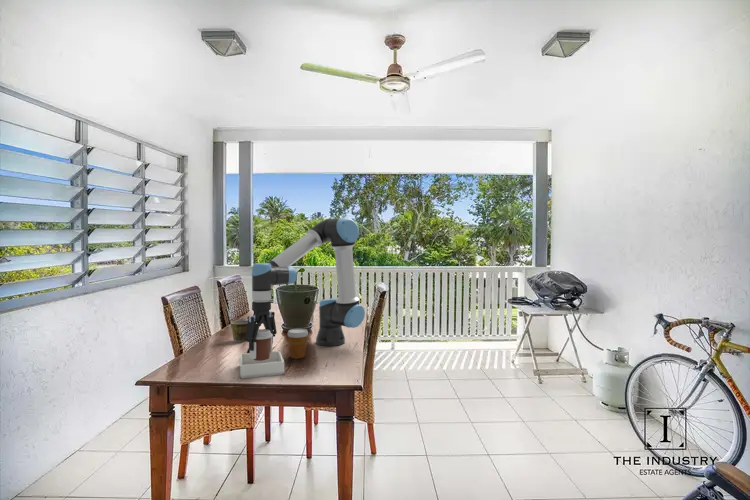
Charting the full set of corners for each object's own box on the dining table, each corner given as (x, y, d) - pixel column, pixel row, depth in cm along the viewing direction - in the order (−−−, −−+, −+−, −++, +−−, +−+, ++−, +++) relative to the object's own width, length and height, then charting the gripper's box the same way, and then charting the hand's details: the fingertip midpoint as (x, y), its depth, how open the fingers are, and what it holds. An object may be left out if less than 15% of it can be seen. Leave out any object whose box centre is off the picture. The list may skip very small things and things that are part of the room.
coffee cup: (273, 362, 162) (273, 332, 162) (249, 364, 159) (249, 334, 159) (272, 355, 171) (272, 328, 170) (249, 357, 168) (250, 329, 168)
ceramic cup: (236, 338, 217) (236, 319, 216) (253, 339, 215) (253, 320, 215) (224, 344, 204) (224, 324, 204) (242, 345, 202) (242, 325, 202)
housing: (279, 362, 176) (279, 350, 175) (284, 374, 160) (284, 361, 160) (239, 365, 170) (239, 354, 170) (240, 378, 154) (240, 365, 154)
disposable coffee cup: (283, 358, 181) (283, 332, 181) (294, 352, 190) (294, 327, 190) (301, 360, 178) (301, 333, 177) (312, 355, 187) (312, 329, 186)
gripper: (271, 296, 176) (271, 347, 176) (234, 303, 156) (234, 360, 157) (285, 298, 172) (285, 349, 173) (249, 305, 153) (249, 363, 153)
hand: (261, 355), depth 165 cm, fingers closed on coffee cup, 9 cm apart
